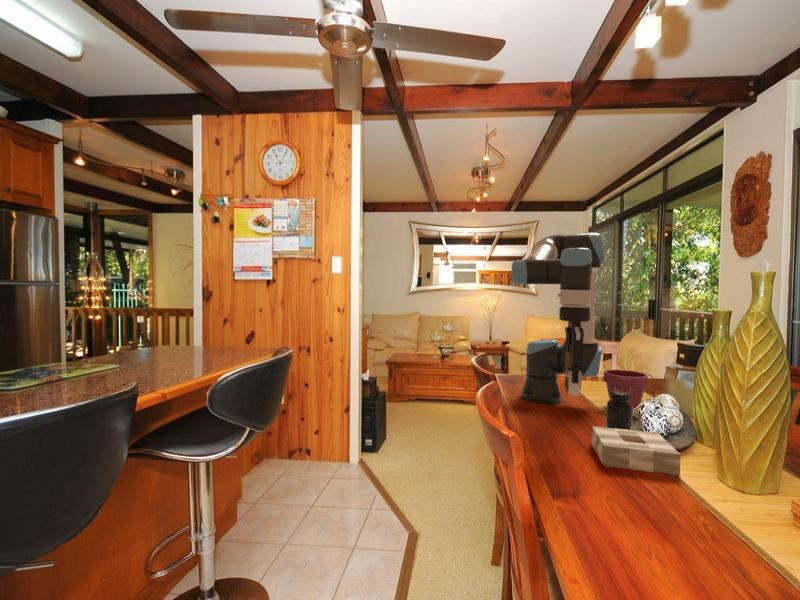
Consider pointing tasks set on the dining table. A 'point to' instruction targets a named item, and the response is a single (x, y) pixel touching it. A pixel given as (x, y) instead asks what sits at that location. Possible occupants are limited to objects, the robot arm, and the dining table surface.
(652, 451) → the seat board
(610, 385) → the plant pot
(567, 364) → the peg
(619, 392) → the supplement bottle
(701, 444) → the dining table surface
